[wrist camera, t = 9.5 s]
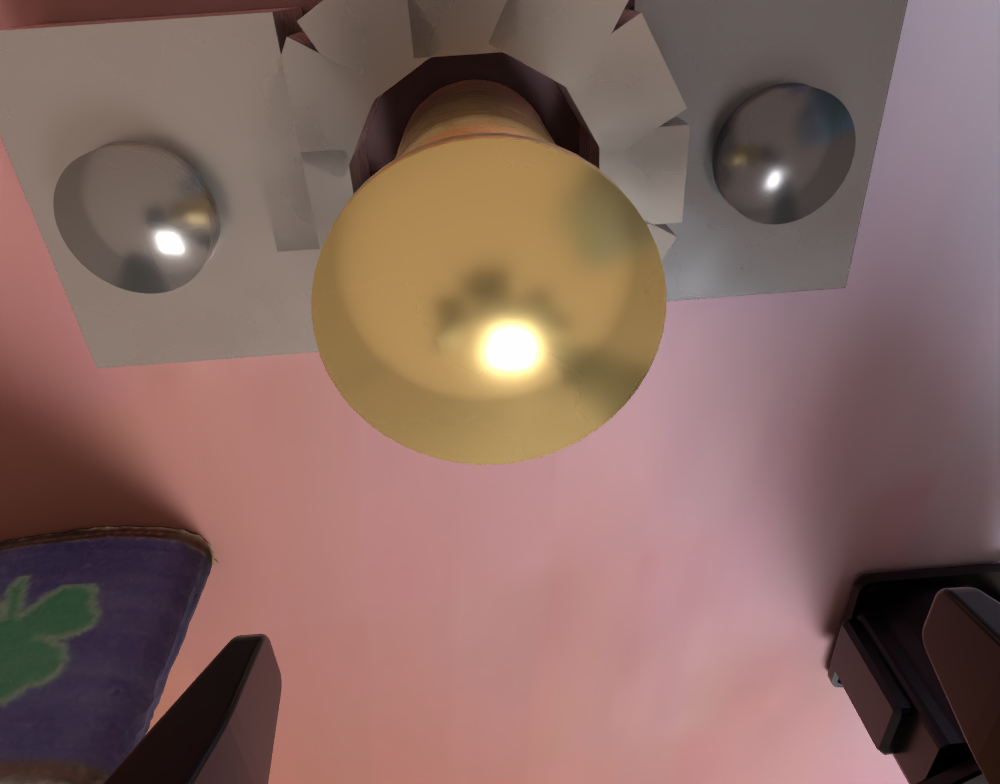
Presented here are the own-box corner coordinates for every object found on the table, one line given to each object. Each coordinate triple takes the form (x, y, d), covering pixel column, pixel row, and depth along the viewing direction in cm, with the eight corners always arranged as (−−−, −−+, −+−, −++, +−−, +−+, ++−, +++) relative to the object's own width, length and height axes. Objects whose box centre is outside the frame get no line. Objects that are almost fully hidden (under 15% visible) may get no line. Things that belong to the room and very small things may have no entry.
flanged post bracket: (889, -84, 16) (999, -100, 13) (814, 299, 21) (880, 358, 18) (19, -25, 16) (-96, -27, 12) (154, 348, 21) (96, 418, 17)
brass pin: (568, 51, 17) (679, 125, 8) (569, 245, 20) (655, 452, 11) (367, 64, 17) (274, 153, 8) (394, 257, 20) (345, 475, 11)
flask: (-23, 598, 26) (-293, 946, 16) (-62, 539, 24) (-383, 886, 15) (226, 576, 26) (98, 909, 16) (203, 516, 24) (48, 846, 15)
